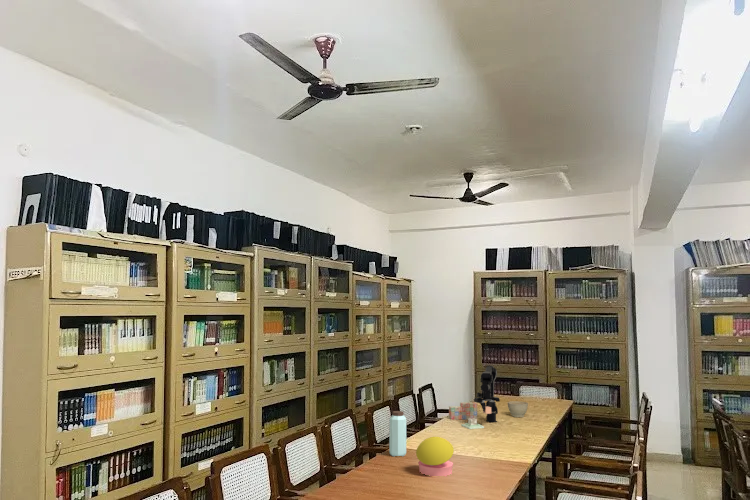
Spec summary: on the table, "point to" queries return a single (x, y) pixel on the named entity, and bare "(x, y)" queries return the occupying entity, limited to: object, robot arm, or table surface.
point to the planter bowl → (517, 408)
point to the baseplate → (472, 426)
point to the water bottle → (397, 434)
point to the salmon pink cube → (487, 410)
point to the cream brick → (472, 421)
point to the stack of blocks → (463, 411)
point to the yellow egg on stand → (435, 456)
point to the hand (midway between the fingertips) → (487, 411)
